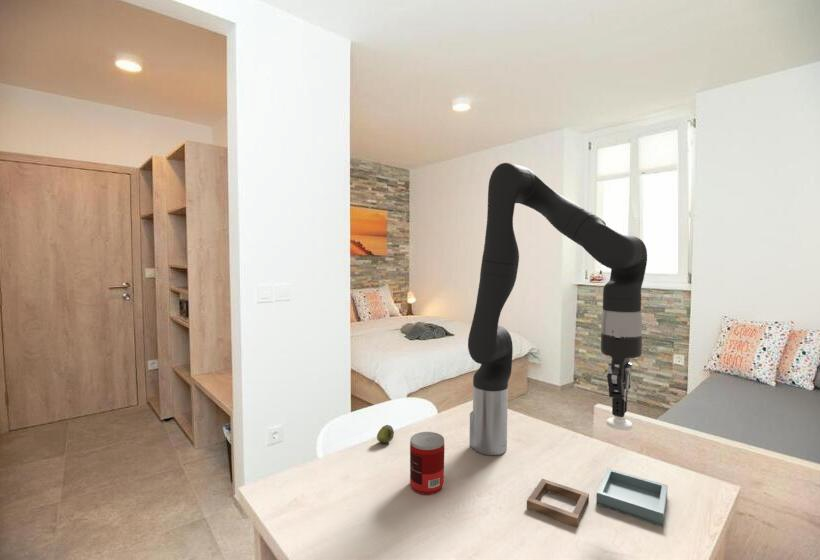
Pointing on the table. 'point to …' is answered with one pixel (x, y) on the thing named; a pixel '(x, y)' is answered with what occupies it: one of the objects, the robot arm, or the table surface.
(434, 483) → the canned food
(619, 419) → the chess piece
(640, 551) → the table surface
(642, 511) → the tray
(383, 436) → the lime
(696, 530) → the table surface
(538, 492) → the collar
